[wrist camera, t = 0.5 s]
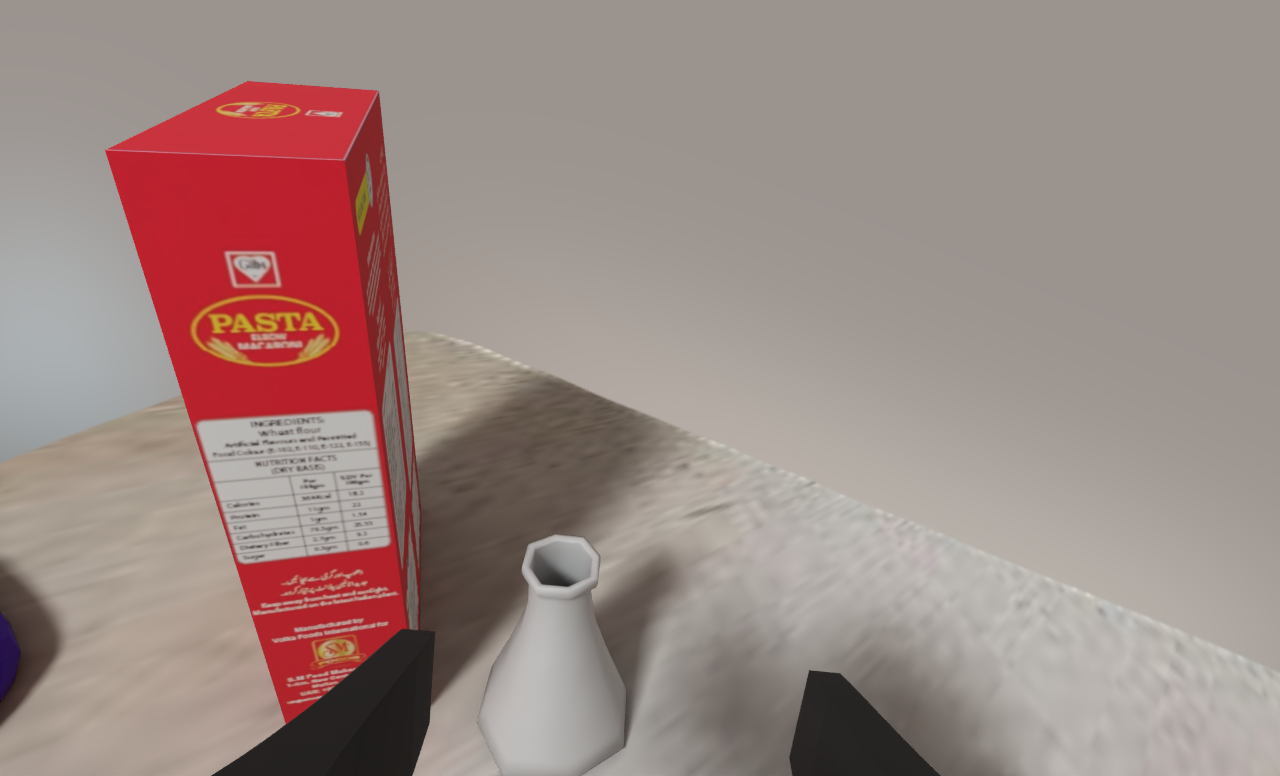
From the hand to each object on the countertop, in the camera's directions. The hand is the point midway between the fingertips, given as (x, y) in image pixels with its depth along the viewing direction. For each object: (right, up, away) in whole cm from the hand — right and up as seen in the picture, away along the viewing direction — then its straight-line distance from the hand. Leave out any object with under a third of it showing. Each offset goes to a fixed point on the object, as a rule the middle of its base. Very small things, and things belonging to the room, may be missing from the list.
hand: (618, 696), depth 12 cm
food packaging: (-14, -6, +23) cm, 28 cm away
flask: (-4, -10, +19) cm, 21 cm away
